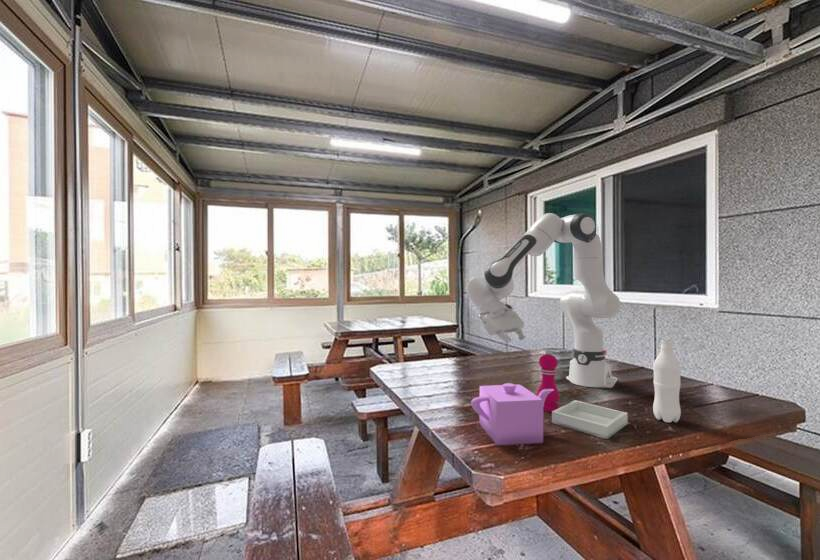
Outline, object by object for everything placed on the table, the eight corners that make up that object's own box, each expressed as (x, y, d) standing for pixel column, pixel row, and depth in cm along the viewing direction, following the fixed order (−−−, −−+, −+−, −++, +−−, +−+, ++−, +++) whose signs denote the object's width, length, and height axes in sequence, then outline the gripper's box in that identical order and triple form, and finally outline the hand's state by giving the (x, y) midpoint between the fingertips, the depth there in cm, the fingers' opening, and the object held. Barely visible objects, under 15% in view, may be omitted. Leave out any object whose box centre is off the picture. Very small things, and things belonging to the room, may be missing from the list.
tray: (575, 410, 127) (575, 400, 126) (627, 424, 115) (627, 412, 115) (551, 422, 116) (551, 411, 116) (606, 439, 104) (606, 426, 104)
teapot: (568, 441, 103) (568, 390, 103) (479, 446, 100) (479, 394, 100) (541, 420, 118) (541, 376, 118) (463, 424, 115) (463, 378, 115)
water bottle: (685, 425, 114) (685, 342, 114) (659, 423, 115) (659, 341, 115) (673, 416, 121) (674, 338, 121) (649, 415, 122) (649, 338, 122)
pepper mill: (559, 413, 124) (559, 352, 124) (536, 410, 126) (536, 351, 126) (559, 406, 130) (559, 348, 130) (537, 404, 133) (537, 347, 133)
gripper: (482, 307, 136) (505, 338, 129) (513, 305, 150) (536, 332, 142) (472, 319, 139) (494, 349, 132) (504, 315, 153) (525, 342, 146)
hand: (516, 340), depth 137 cm, fingers open, 8 cm apart
